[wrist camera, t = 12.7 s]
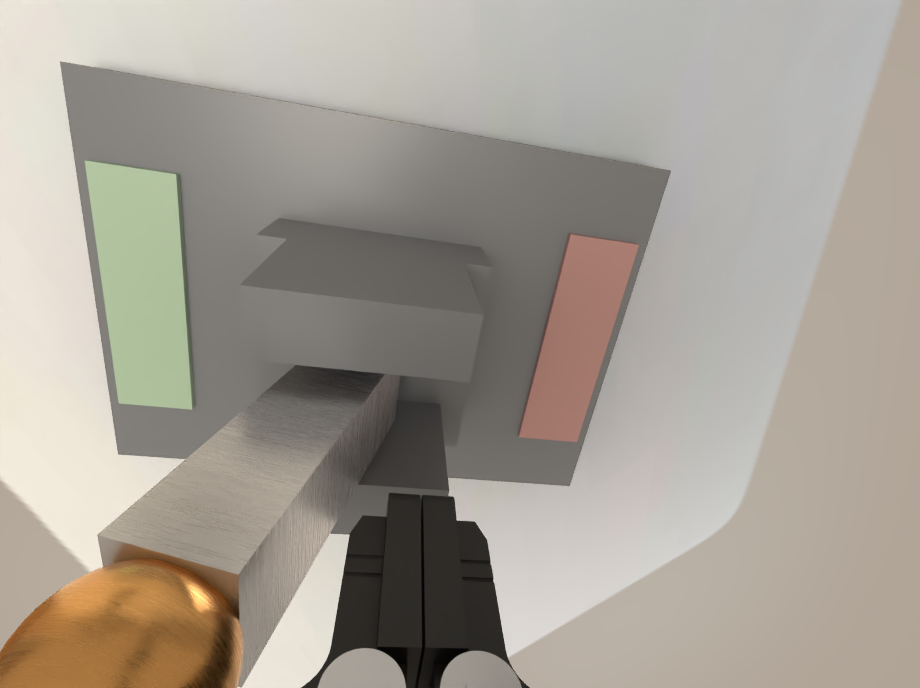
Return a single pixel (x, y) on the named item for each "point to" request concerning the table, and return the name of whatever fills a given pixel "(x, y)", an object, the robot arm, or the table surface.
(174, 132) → the switch box
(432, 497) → the robot arm
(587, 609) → the table surface
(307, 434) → the lever
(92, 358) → the table surface
